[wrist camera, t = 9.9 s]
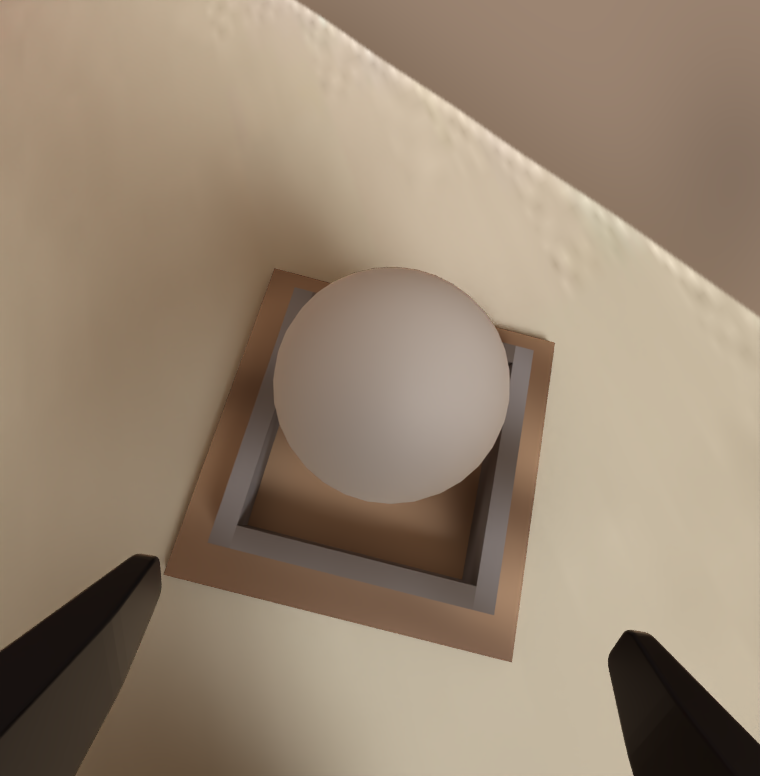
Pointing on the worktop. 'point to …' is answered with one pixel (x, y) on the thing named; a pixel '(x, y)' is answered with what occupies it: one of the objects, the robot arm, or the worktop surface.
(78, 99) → the worktop surface
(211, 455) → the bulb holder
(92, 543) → the worktop surface
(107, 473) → the worktop surface
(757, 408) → the worktop surface
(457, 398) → the lightbulb
